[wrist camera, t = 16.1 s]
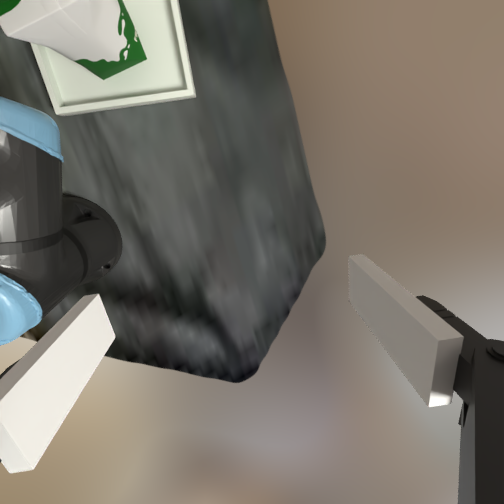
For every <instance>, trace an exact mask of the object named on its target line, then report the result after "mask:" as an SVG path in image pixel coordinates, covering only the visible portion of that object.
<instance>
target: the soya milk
mask: <svg viewBox="0 0 504 504" xmlns="http://www.w3.org/2000/svg"><path fill="white" fill-rule="evenodd" d="M0 26H1V28H2V29H3V31H4V32H5V34H6V36H8V37H12V38H16V39H19V40H23V41H27V42H31V43H34V44H38V45H42V46H45V47H48V48H50V49H52V50H54V51H56V52H58V53H59V54H61V55H63V56H65V57H67V58H69V59H71V60H72V61H74V62H76V63H78V64H80V65H82V66H83V67H85V68H86V69H88V70H89V71H91V72H92V73H94V74H95V75H97V76H98V77H99V78H101V79H102V80H105V79H107V78H109V77H111V76H113V75H116V74H118V73H120V72H122V71H124V70H126V69H128V68H130V67H132V66H134V65H136V64H139V63H141V62H143V61H145V60H147V57H146V55H145V52H144V49H143V47H142V44H141V42H140V39H139V37H138V34H137V31H136V29H135V26H134V24H133V22H132V20H131V18H130V15H129V13H128V11H127V9H126V7H125V5H124V2H123V0H0Z"/></svg>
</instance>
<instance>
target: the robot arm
mask: <svg viewBox="0 0 504 504" xmlns="http://www.w3.org/2000/svg"><path fill="white" fill-rule="evenodd" d="M62 162H64V158H63V156H62V155H61V147H60V133H59V129H58V126H57V124H56V123H55V121H54V120H53V119H52V118H51V117H50V116H49V115H47V114H46V113H44V112H42V111H39V110H37V109H34V108H32V107H29V106H26V105H24V104H21V103H18V102H15V101H12V100H9V99H7V98H4V97H1V96H0V345H4V344H7V343H9V342H11V341H13V340H15V339H17V338H18V337H19V336H21V335H22V334H23V333H24V332H26V331H27V330H28V329H30V328H32V327H34V326H36V325H37V324H38V323H39V322H40V321H41V319H42V318H43V317H44V316H45V315H47V314H48V313H49V312H50V311H51V310H52V309H53V308H54V307H55V306H56V305H57V304H58V303H60V302H61V301H62V300H63V299H64V298H65V297H66V296H67V295H68V294H69V293H70V292H71V291H73V290H74V289H75V288H76V287H77V286H79V285H82V284H86V283H89V282H92V281H95V280H98V279H100V278H101V277H103V276H105V275H106V274H107V273H108V272H109V271H110V270H111V269H112V268H113V267H114V266H115V265H116V264H117V262H118V260H119V258H120V256H121V252H122V238H121V234H120V231H119V229H118V227H117V225H116V223H115V222H114V220H113V219H112V218H111V216H110V215H109V214H108V213H107V212H106V211H105V210H103V209H102V208H101V207H99V206H98V205H96V204H95V203H93V202H91V201H88V200H86V199H83V198H79V197H72V196H62ZM349 302H350V304H351V305H352V306H353V307H354V309H355V310H356V312H357V313H358V314H359V316H360V317H361V318H362V320H363V321H364V322H365V323H366V325H367V326H368V328H369V329H370V330H371V332H372V333H373V334H374V335H375V337H376V338H377V339H378V341H379V342H380V343H381V345H382V346H383V347H384V349H385V350H386V351H387V353H388V354H389V355H390V357H391V358H392V359H393V361H394V362H395V363H396V365H397V366H398V367H399V369H400V370H401V371H402V373H403V374H404V375H405V377H406V378H407V379H408V381H409V382H410V383H411V384H412V386H413V387H414V389H415V390H416V391H417V393H418V394H419V395H420V397H421V398H422V399H423V400H424V402H425V403H426V405H427V406H428V407H433V406H440V405H446V404H451V402H452V396H453V391H455V392H457V394H458V395H459V396H460V397H461V398H462V399H463V404H462V409H461V414H460V418H459V423H458V424H459V425H461V439H460V440H461V441H460V465H459V488H458V504H504V341H500V340H493V339H486V338H485V337H483V336H482V335H481V334H479V333H478V332H477V331H475V330H474V329H473V328H472V327H470V326H469V325H467V324H466V323H465V322H464V321H462V320H461V319H459V318H458V317H456V316H455V315H454V314H453V313H452V312H450V311H449V310H448V311H447V309H446V308H445V307H444V306H442V305H441V304H440V303H438V302H437V301H435V300H433V299H430V298H428V297H426V296H417V297H415V296H413V295H412V294H411V293H410V292H409V291H407V290H406V289H405V288H404V287H403V286H401V285H400V284H399V283H398V282H396V281H395V280H394V279H393V278H392V277H390V276H389V275H388V274H387V273H385V272H384V271H383V270H382V269H381V268H379V267H378V266H377V265H376V264H374V263H373V262H372V261H371V260H369V259H368V258H367V257H366V256H365V255H363V254H361V255H354V256H349ZM114 339H115V334H114V332H113V329H112V327H111V324H110V321H109V319H108V316H107V314H106V311H105V309H104V306H103V304H102V301H101V298H100V296H99V294H94V295H87V296H83V297H82V298H81V299H80V300H79V301H78V302H77V303H76V304H75V305H74V306H73V307H72V308H71V309H70V310H69V311H68V312H67V313H66V314H65V315H64V316H63V317H62V318H61V319H60V320H59V321H58V322H57V323H56V324H55V325H54V326H53V327H52V328H51V329H50V330H49V331H48V332H47V333H46V334H45V335H44V336H43V337H42V338H41V339H40V340H39V341H38V342H37V343H36V344H35V345H34V346H33V348H31V349H30V350H29V351H28V352H27V353H26V354H25V355H24V356H23V357H22V358H21V359H20V360H18V361H17V362H15V363H14V364H13V365H11V366H9V367H8V368H7V369H6V370H5V371H4V372H3V373H2V374H1V375H0V462H2V463H3V465H4V466H5V468H6V469H7V470H8V472H9V473H15V472H22V471H28V470H33V469H34V468H35V466H36V464H37V463H38V461H39V460H40V457H41V456H42V455H43V453H44V452H45V450H46V448H47V447H48V445H49V443H50V442H51V440H52V439H53V437H54V435H55V434H56V432H57V430H58V429H59V427H60V426H61V424H62V422H63V421H64V419H65V417H66V416H67V414H68V413H69V411H70V410H71V408H72V406H73V405H74V403H75V401H76V400H77V398H78V397H79V395H80V393H81V392H82V390H83V388H84V387H85V385H86V384H87V382H88V381H89V379H90V377H91V376H92V374H93V372H94V371H95V369H96V368H97V366H98V364H99V363H100V361H101V359H102V358H103V356H104V355H105V353H106V351H107V350H108V348H109V347H110V345H111V343H112V342H113V340H114Z"/></svg>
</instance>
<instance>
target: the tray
mask: <svg viewBox="0 0 504 504" xmlns="http://www.w3.org/2000/svg"><path fill="white" fill-rule="evenodd" d="M123 2H124V5H125V7H126V9H127V11H128V13H129V15H130V18H131V20H132V22H133V24H134V26H135V29H136V31H137V34H138V37H139V39H140V42H141V44H142V47H143V49H144V52H145V55H146V57H147V60H145V61H143V62H141V63H139V64H136V65H134V66H132V67H130V68H128V69H126V70H124V71H122V72H120V73H118V74H116V75H113V76H111V77H109V78H107V79H105V80H102V79H101V78H99V77H98V76H97V75H95V74H94V73H92V72H91V71H89V70H88V69H86V68H85V67H83V66H82V65H80V64H78V63H76V62H74V61H72V60H71V59H69V58H67V57H65V56H63V55H61V54H59V53H58V52H56V51H54V50H52V49H50V48H48V47H45V46H42V45H38V44H34V43H31V42H30V43H31V46H32V49H33V52H34V54H35V57H36V60H37V63H38V66H39V68H40V71H41V74H42V77H43V79H44V82H45V85H46V88H47V91H48V93H49V96H50V99H51V102H52V105H53V107H54V110H55V113H56V115H62V116H69V115H76V114H83V113H91V112H98V111H105V110H112V109H119V108H126V107H133V106H140V105H147V104H154V103H161V102H168V101H176V100H183V99H190V98H196V93H195V88H194V82H193V77H192V72H191V66H190V61H189V55H188V50H187V44H186V39H185V33H184V28H183V23H182V17H181V12H180V6H179V1H178V0H123Z"/></svg>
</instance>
